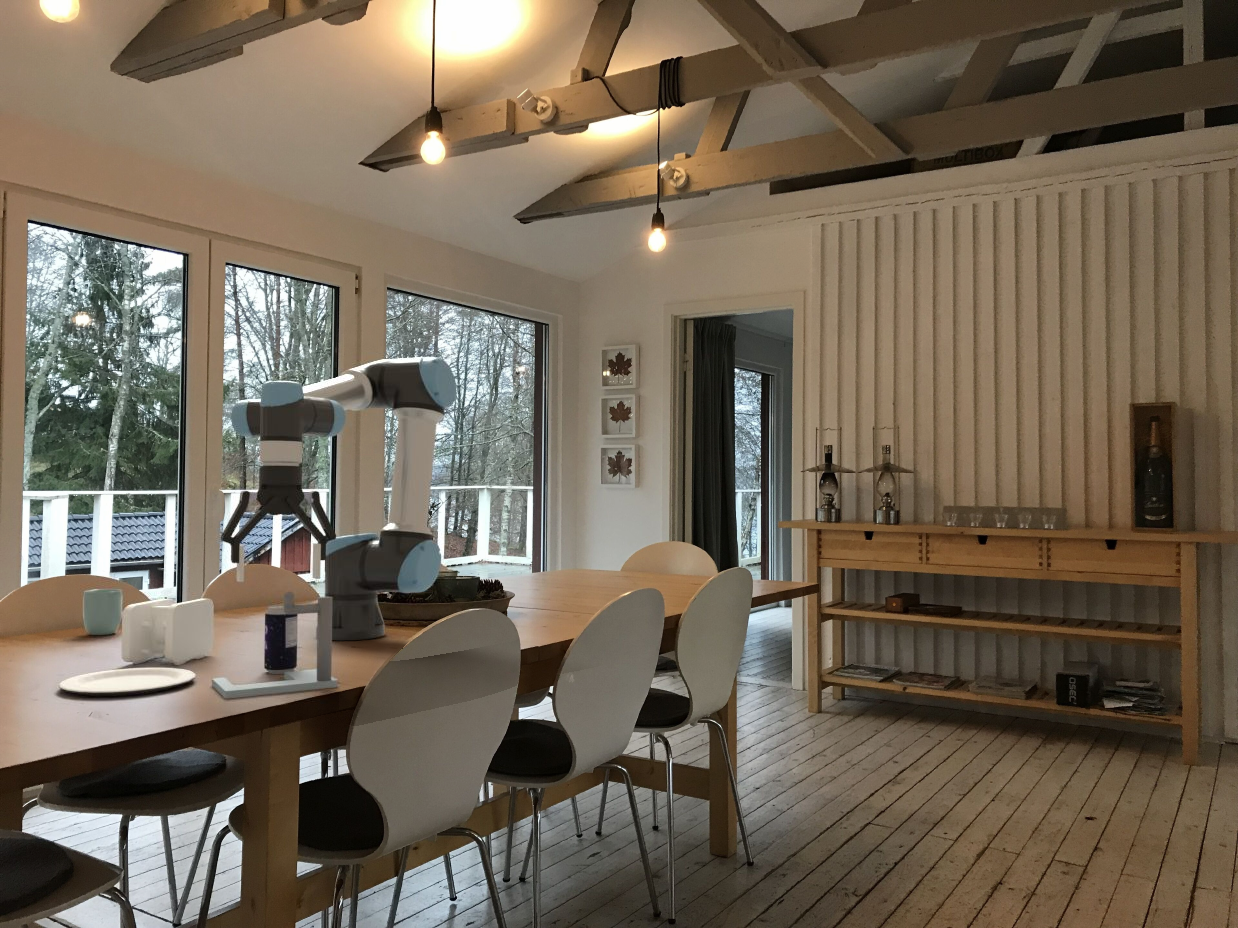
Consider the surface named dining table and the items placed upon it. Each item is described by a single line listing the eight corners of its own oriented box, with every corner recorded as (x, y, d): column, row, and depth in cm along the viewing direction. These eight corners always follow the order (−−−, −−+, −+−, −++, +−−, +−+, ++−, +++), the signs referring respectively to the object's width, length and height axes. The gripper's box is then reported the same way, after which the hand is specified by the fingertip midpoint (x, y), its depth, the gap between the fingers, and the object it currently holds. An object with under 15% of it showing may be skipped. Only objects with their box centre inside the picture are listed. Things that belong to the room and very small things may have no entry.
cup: (109, 636, 218) (110, 592, 218) (75, 636, 218) (76, 592, 218) (127, 631, 226) (128, 588, 226) (94, 631, 226) (95, 588, 226)
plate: (103, 675, 175) (103, 665, 175) (216, 676, 175) (216, 667, 175) (29, 700, 155) (30, 689, 155) (158, 702, 154) (158, 691, 154)
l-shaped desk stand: (318, 675, 175) (319, 583, 175) (337, 686, 165) (338, 589, 165) (211, 685, 165) (213, 588, 166) (225, 698, 155) (227, 594, 155)
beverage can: (288, 667, 182) (289, 603, 182) (302, 671, 178) (303, 606, 178) (258, 671, 178) (259, 606, 178) (272, 675, 174) (273, 609, 174)
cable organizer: (169, 668, 181) (171, 606, 181) (117, 666, 182) (119, 605, 182) (214, 655, 196) (215, 597, 196) (165, 653, 197) (166, 596, 197)
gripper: (342, 466, 189) (340, 575, 188) (205, 463, 176) (203, 580, 175) (353, 465, 182) (352, 578, 182) (212, 463, 169) (210, 584, 169)
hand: (279, 580), depth 178 cm, fingers open, 13 cm apart
